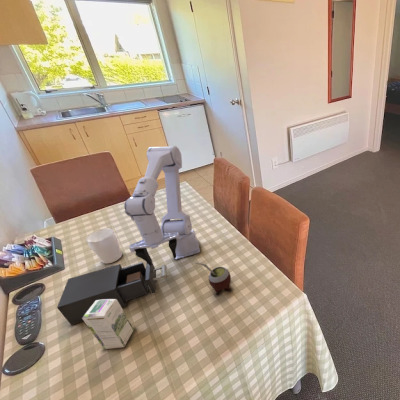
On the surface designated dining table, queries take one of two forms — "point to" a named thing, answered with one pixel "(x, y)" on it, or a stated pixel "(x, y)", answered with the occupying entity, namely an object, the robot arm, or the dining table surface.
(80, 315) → the black drawer box
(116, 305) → the syrup box
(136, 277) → the block
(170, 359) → the dining table surface
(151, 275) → the dark grey drawer
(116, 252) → the cup
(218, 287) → the mate gourd
